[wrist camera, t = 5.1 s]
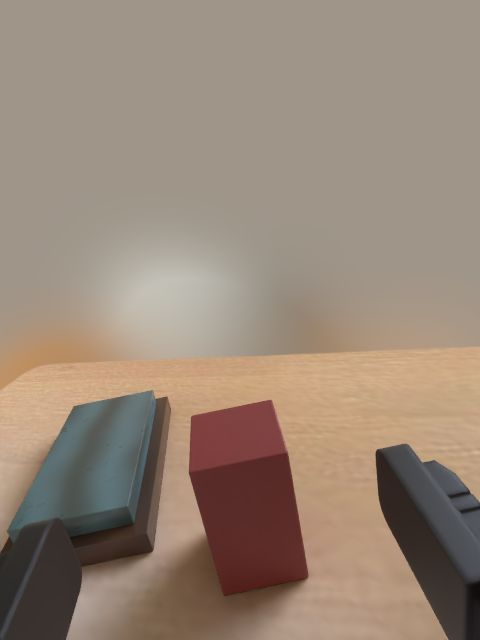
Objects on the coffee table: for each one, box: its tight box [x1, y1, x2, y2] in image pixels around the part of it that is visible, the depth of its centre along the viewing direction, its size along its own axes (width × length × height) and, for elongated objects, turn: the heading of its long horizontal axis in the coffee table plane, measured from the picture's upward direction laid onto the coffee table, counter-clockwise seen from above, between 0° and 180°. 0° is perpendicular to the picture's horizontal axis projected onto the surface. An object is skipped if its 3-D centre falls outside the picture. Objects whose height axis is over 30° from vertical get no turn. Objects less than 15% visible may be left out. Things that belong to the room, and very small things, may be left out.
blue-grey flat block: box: [0, 390, 171, 566], centre depth 34 cm, size 10×17×3 cm, turn 5°
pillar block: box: [189, 400, 308, 595], centre depth 24 cm, size 5×5×9 cm
